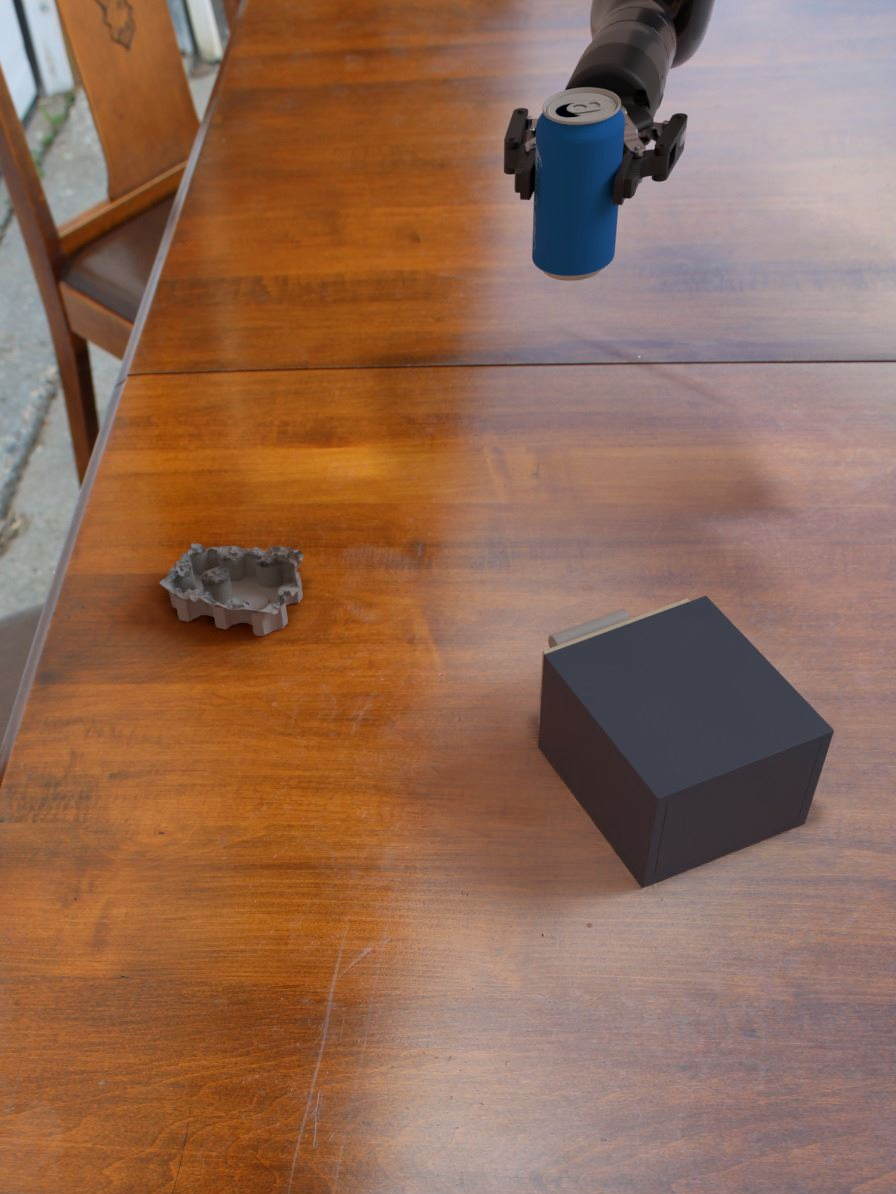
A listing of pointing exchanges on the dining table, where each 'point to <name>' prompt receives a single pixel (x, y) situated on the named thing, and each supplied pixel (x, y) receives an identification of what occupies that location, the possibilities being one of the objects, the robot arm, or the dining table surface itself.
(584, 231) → the beverage can
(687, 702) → the cabinet
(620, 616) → the drawer
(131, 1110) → the dining table surface
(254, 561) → the egg carton
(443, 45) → the dining table surface
